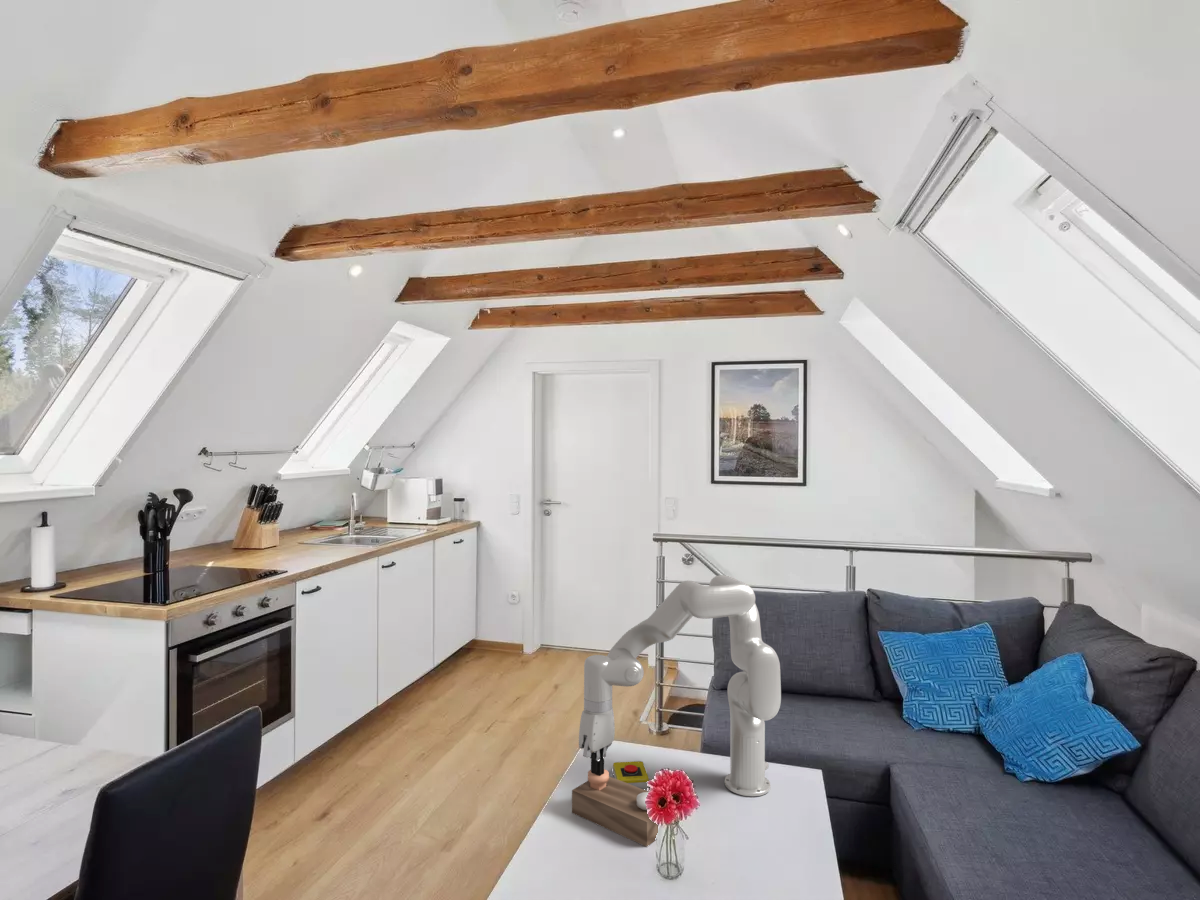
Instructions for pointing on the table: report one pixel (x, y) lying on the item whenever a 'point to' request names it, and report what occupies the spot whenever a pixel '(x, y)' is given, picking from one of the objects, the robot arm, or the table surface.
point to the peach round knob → (598, 780)
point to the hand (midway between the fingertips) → (597, 773)
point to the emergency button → (631, 773)
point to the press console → (615, 810)
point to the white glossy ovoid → (642, 800)
